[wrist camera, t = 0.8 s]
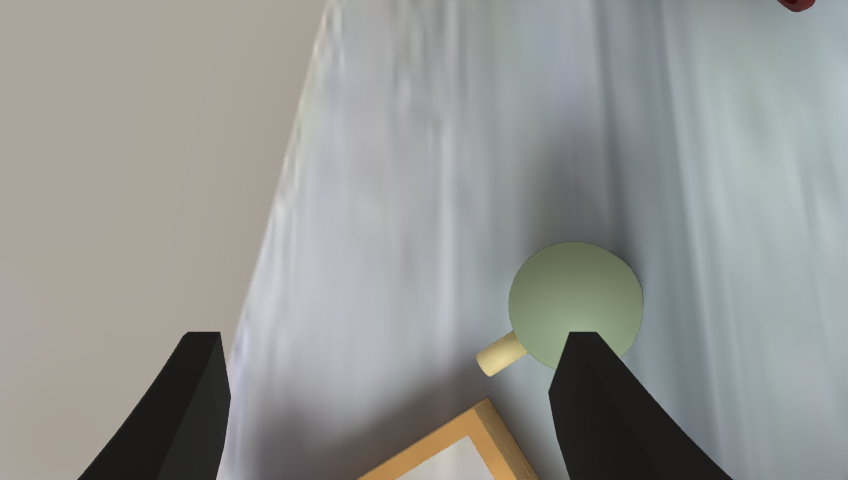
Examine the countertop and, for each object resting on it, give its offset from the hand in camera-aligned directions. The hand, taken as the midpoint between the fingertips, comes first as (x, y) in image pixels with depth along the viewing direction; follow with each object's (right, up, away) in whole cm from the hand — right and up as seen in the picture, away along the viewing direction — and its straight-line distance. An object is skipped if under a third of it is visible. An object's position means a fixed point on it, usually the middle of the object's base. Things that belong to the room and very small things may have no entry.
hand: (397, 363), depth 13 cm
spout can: (+8, 0, +14) cm, 16 cm away
